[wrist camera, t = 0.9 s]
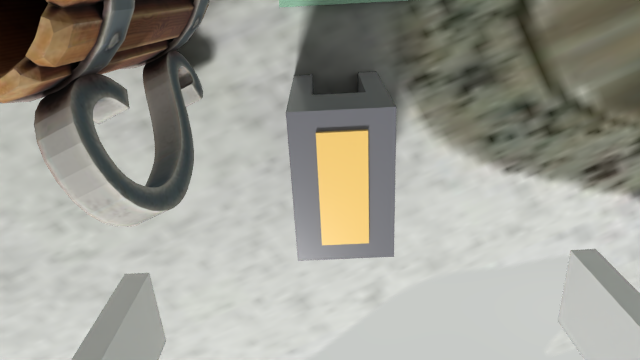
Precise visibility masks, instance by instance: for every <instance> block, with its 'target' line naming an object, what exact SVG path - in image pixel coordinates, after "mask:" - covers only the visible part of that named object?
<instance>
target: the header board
mask: <svg viewBox="0 0 640 360" xmlns="http://www.w3.org/2000/svg"><path fill="white" fill-rule="evenodd" d="M387 1H406V0H279V7H293V6H312V5H331V4H349V3H368V2H387Z"/></svg>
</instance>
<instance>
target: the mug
mask: <svg viewBox="0 0 640 360" xmlns="http://www.w3.org/2000/svg"><path fill="white" fill-rule="evenodd" d="M208 2H209V0H0V103H14V102H29V101H33V100H36V99H39V98H42V97H45V96H46V97H45V98H43V99H42V100H41V101H40V103H39V105H38V107H37V109H36V111H35V121H34V127H35V133H36V139H37V143H38V146H39V148H40V151H41V154H42V156H43V159H44V161H45V163H46V165H47V166H48V168H49V170H50V171H51V173H52V174H53V176H54V178H55V179H56V181H57V183H58V184H59V185H60V186H61V187H62V189H63V190H64V191H65V192H66V194H67V195H68V196H69V197H70V198H71V200H72V201H73V202H74V203H76V204H77V205H78V206H79V207H80V208H81V209H82V210H84V211H85V212H86V213H87V214H88V215H90V216H92V217H94V218H95V219H97V220H99V221H101V222H103V223H106V224H110V225H114V226H119V227H129V226H134V225H138V224H140V223H142V222H144V221H146V220H148V219H151V218H153V217H155V216H157V215H159V214H161V213H163V212H165V211H168V210H170V209H172V208H174V207H175V206H177V205H178V204H179V203H180V202H181V200H182V199H183V198H184V196H185V194H186V192H187V189H188V186H189V183H190V179H191V175H192V170H193V164H194V148H193V139H192V133H191V127H190V123H189V118H188V114H187V110H186V107H187V106H189V105H191V104H193V103H195V102H197V101H199V100H201V99H202V97H203V90H202V86H201V83H200V81H199V79H198V76H197V74H196V73H195V71H194V69H193V68H192V66H191V65H190V63H189V62H188V61H187V60H186V58H185V57H184V56H183V55H181V54H180V53H179V52H177V51H176V50H177V49H178V48H180V47H181V46H182V45H184V44H185V43H186V42H187V41H188V40H189V38H190V37H191V36H192V34H193V33H194V32H195V30H196V29H197V27H198V26H199V25H200V23H201V21H202V19H203V17H204V14H205V12H206V10H207V7H208ZM145 64H146V65H145ZM142 65H145V67H144V69H143V83H144V89H145V94H146V98H147V103H148V107H149V111H150V116H151V120H152V126H153V132H154V140H155V159H154V164H153V168H152V171H151V174H150V176H149V179H148V181H147V184H146V186H142V185H139V184H137V183H135V182H133V181H132V180H130V179H129V178H128V177H126V176H125V175H124V174H123V173H122V172H121V171H120V170H119V169H118V168H117V166H116V165H115V164H114V162H113V161H112V160H111V158H110V157H109V156H108V154H107V152H106V151H105V149H104V147H103V145H102V144H101V142H100V140H99V137H98V135H97V132H96V130H95V126H94V121H95V122H96V123H98V124H101V123H102V122H104V121H106V120H108V119H110V118H112V117H114V116H116V115H118V114H120V113H121V112H123V111H125V110H127V109H129V102H128V94H127V90H126V89H125V88H124V87H122V86H121V85H120V84H118V83H117V82H115V81H114V80H112V79H111V78H108V77H106V76H104V75H101V74H104V73H107V72H110V71H114V70H117V69H126V68H136V67H139V66H142Z"/></svg>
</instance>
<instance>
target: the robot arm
mask: <svg viewBox="0 0 640 360" xmlns="http://www.w3.org/2000/svg"><path fill="white" fill-rule="evenodd" d="M558 322H559V324H560V325H561V327H562V328H563V330H564V331H565V332H566V334H567V335H568V337H569V338H570V340H571V341H572V343H573V344H574V346H575V347H576V349H577V350H578V351H579V353H580V354H581V356H582V357H583V358H584V360H640V293H639V292H638V291H637V290H636V289H635V288H634V287H633V286H632V285H631V284H630V283H629V282H628V281H627V280H626V279H625V278H624V277H623V276H622V275H621V274H620V273H619V272H618V271H617V270H616V269H615V268H614V267H613V266H612V265H611V264H610V263H609V262H608V261H607V260H606V259H605V258H604V257H603V256H602V255H601V254H600V253H599V252H598V251H597V250H596V249H587V250H571V251H570V256H569V262H568V267H567V273H566V278H565V283H564V289H563V294H562V299H561V305H560V310H559V315H558ZM165 342H166V338H165V334H164V330H163V326H162V322H161V318H160V314H159V310H158V306H157V302H156V298H155V294H154V290H153V286H152V282H151V278H150V274H149V273H137V274H125V275H124V277H123V278H122V280H121V281H120V283H119V285H118V286H117V288H116V289H115V291H114V293H113V294H112V296H111V297H110V299H109V301H108V302H107V304H106V305H105V307H104V309H103V310H102V312H101V313H100V315H99V317H98V318H97V320H96V321H95V323H94V325H93V326H92V328H91V329H90V331H89V333H88V334H87V336H86V337H85V339H84V341H83V342H82V344H81V345H80V347H79V349H78V350H77V352H76V353H75V355H74V357H73V358H72V360H158V359H159V357H160V355H161V352H162V350H163V347H164V345H165Z"/></svg>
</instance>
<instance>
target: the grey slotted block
mask: <svg viewBox="0 0 640 360" xmlns="http://www.w3.org/2000/svg"><path fill="white" fill-rule="evenodd" d="M358 91H359V93H340V94H320V95H313V82H312V75H299V76H294V78H293V83H292V87H291V92H290V96H289V101H288V105H287V110H286V119H287V131H288V144H289V156H290V168H291V181H292V193H293V205H294V218H295V230H296V242H297V255H298V261H304V260H327V259H350V258H372V257H394V216H395V158H396V105H395V104H394V102H393V100H392V98H391V97H390V95H389V93H388V91H387V89H386V88H385V86H384V84H383V82H382V81H381V79H380V77H379V75H378V74H377V72H359V73H358Z"/></svg>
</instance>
